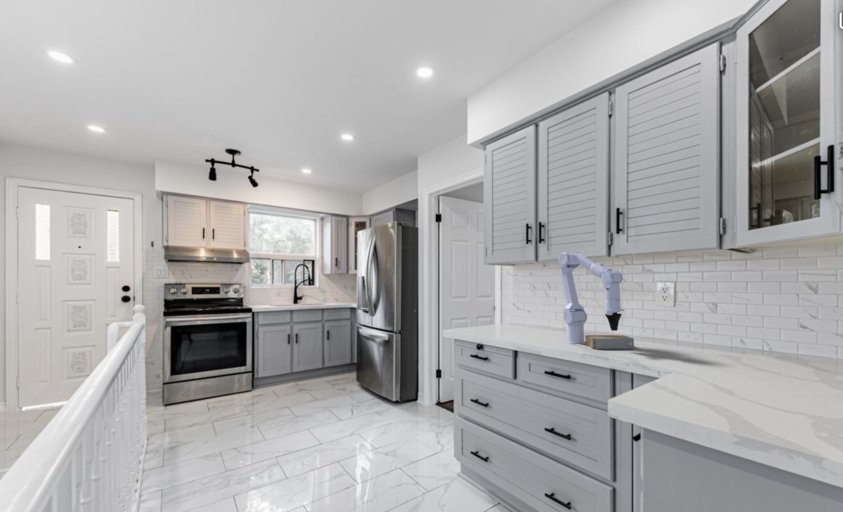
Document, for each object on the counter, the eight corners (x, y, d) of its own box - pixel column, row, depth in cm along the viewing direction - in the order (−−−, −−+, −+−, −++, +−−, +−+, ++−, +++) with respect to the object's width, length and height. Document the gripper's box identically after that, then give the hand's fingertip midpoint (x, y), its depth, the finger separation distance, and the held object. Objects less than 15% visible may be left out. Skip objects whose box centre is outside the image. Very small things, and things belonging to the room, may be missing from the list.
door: (593, 348, 161) (592, 338, 161) (632, 348, 159) (632, 337, 159) (595, 349, 159) (594, 338, 159) (635, 349, 157) (634, 338, 157)
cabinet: (585, 345, 170) (585, 335, 170) (623, 344, 168) (623, 335, 168) (592, 348, 161) (592, 338, 161) (633, 348, 159) (632, 338, 160)
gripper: (619, 300, 150) (620, 333, 149) (626, 298, 161) (628, 329, 160) (600, 299, 154) (602, 332, 153) (609, 297, 165) (610, 327, 165)
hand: (614, 330), depth 157 cm, fingers closed
